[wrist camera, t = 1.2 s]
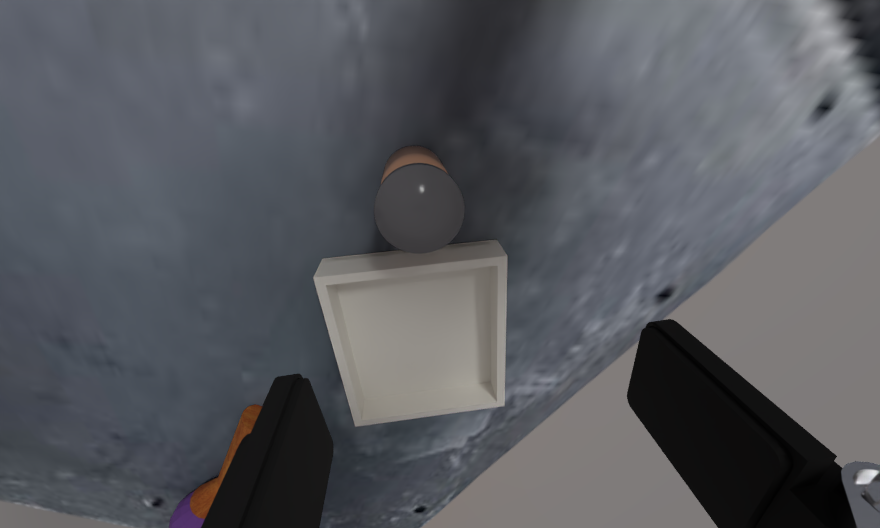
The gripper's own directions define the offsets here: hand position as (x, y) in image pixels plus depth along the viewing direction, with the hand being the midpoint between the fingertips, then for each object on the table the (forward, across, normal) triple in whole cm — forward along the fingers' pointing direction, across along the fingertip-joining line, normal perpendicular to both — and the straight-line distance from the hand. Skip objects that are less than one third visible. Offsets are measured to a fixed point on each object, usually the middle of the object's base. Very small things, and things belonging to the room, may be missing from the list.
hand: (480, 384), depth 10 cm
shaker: (+21, +1, -1) cm, 21 cm away
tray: (+21, +2, +14) cm, 25 cm away
